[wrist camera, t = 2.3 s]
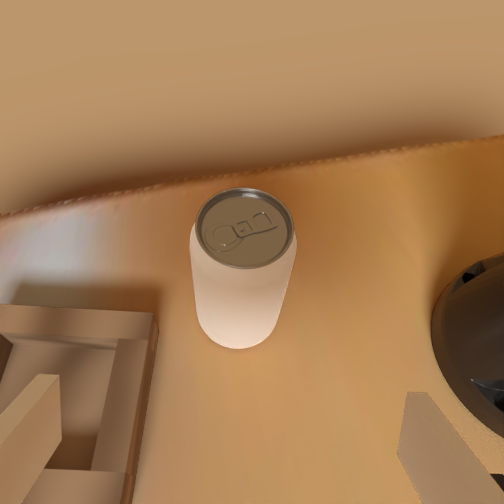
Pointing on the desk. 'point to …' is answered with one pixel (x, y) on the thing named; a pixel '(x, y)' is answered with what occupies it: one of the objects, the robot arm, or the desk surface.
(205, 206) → the can
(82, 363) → the holder
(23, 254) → the desk surface
